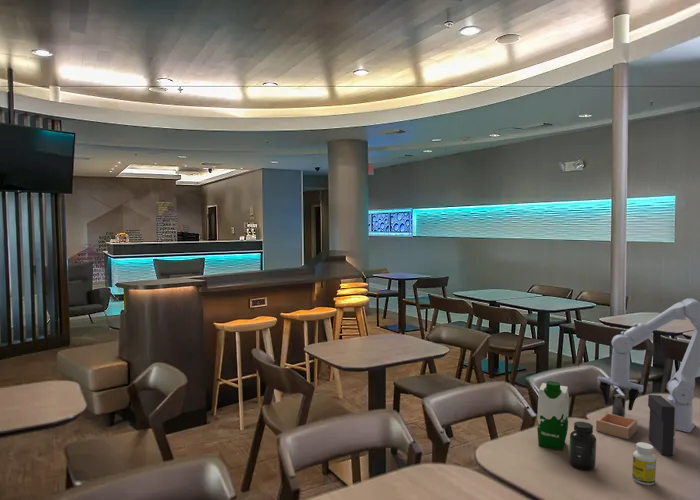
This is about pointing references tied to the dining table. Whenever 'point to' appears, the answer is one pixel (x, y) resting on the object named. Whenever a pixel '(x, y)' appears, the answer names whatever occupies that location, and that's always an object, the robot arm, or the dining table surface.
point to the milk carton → (552, 415)
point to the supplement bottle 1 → (582, 447)
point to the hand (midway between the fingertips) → (618, 406)
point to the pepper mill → (618, 405)
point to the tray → (616, 425)
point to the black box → (662, 424)
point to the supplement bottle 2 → (644, 464)
